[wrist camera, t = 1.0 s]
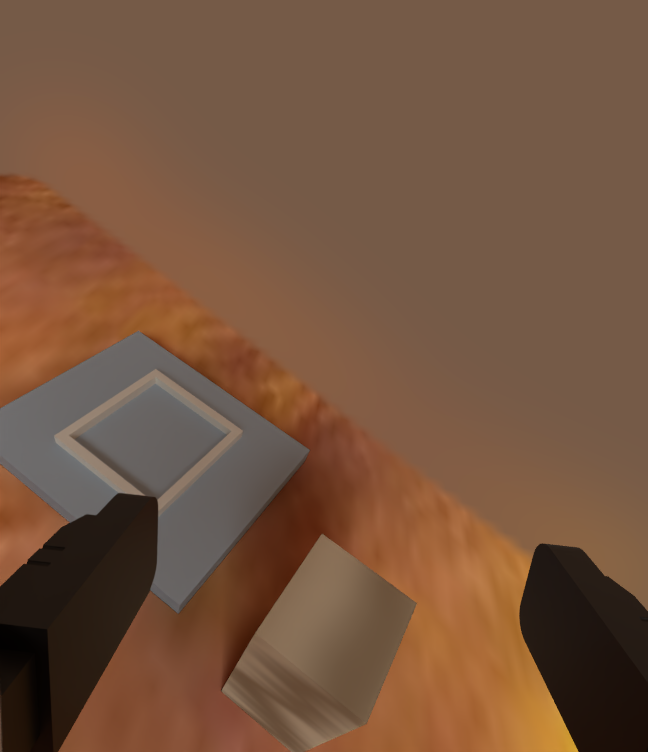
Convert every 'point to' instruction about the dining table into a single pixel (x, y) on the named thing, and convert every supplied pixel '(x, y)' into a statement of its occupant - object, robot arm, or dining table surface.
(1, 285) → the dining table surface
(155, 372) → the board
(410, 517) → the dining table surface
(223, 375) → the dining table surface
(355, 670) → the pillar
